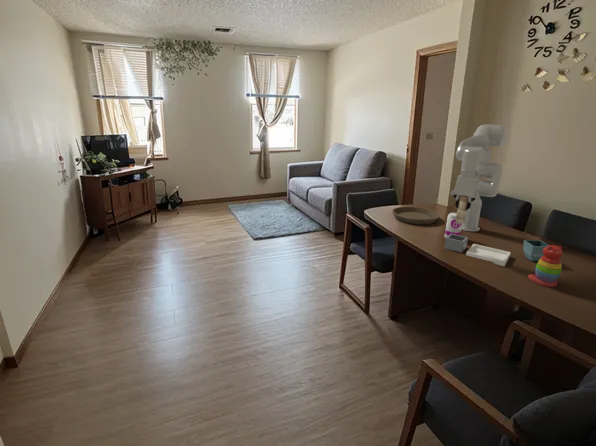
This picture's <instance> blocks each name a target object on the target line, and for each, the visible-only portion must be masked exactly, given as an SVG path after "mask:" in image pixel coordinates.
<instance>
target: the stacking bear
mask: <svg viewBox="0 0 596 446" xmlns="http://www.w3.org/2000/svg"><path fill="white" fill-rule="evenodd" d="M548 245H549V246H547V247H545V248H544V249H543V254H544V256H542V257H541V258H540V260H539V261H537V263H536V266H535V273H531V274H528V276H527V279H529V280H530V281H531V282H533V283H535V284H537V285H540V286H543V287H545V288H546V287H547V288H554V287H555V288H556V287H557V286H558V279H559V277H561V275H562V274H561V273H562V266H563V265H562V262H561V257H562V255H563V246H561V245H559V246H558V245H555V244H548Z"/></svg>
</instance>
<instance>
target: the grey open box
mask: <svg viewBox="0 0 596 446" xmlns="http://www.w3.org/2000/svg"><path fill="white" fill-rule="evenodd" d="M468 240H469V237H468V236H464V235H461V234H460V235H456V234H450V235H449V236H448V237H447V238H445V242H444V246H443V247H444V249H445V250H450V251H453V252H458V253H461V254H462V253H463V252H464V251H465V250H466V249H467V246H468Z"/></svg>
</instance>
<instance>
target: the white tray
mask: <svg viewBox="0 0 596 446" xmlns="http://www.w3.org/2000/svg"><path fill="white" fill-rule="evenodd" d="M465 256H467V257H472V258H474V259H479V260H483V261H487V262H492V264H493V265H497V266H501V267H505V266H506V265H507V262H508V260H509V259H510V256H511V251H506V250H503V249H500V248H499V249H498V248H494V247H489V246H486V245H481V244H477V243H473V244H472V245H471V246H470V247H469V249H467V251H466V253H465Z"/></svg>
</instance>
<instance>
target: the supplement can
mask: <svg viewBox="0 0 596 446" xmlns="http://www.w3.org/2000/svg"><path fill="white" fill-rule="evenodd" d="M456 216H457V212H449V213H448V215H447V219H446V225H445V231H444V236H443V237H444V239H446V238H447V237H448V236H449V235H450V234H456V235H460V236H461V232H462V229H461V228H462V223H458V222H456Z"/></svg>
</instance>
